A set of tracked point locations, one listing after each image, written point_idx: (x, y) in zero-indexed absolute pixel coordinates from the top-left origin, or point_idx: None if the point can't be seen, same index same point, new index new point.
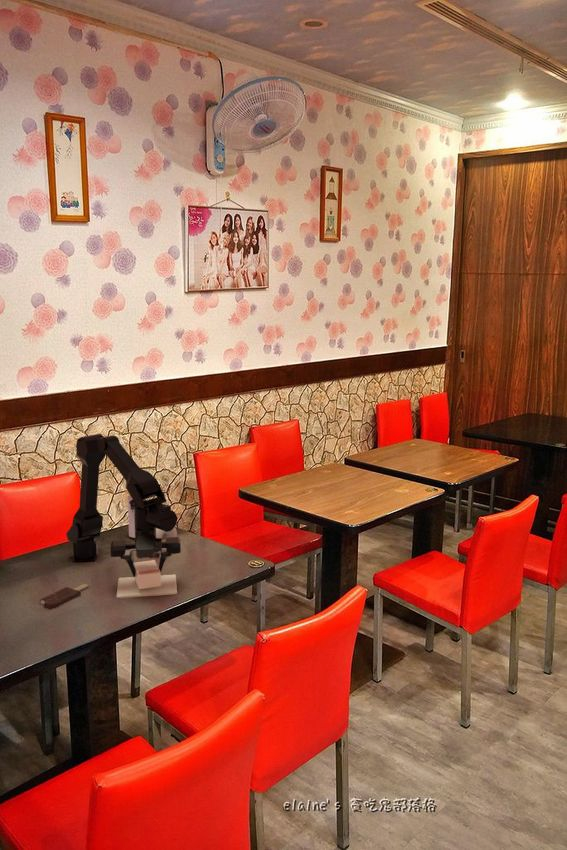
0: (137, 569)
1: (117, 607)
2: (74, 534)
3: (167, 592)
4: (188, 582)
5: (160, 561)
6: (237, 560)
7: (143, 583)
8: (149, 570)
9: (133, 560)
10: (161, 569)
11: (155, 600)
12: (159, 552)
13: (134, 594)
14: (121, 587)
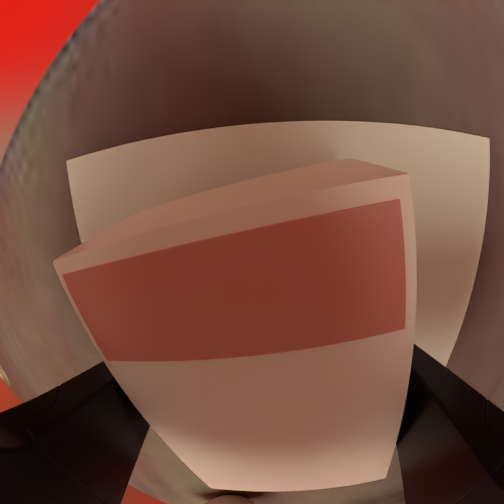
0: (389, 394)
1: (450, 9)
2: None
3: (113, 156)
4: (64, 305)
5: (43, 426)
6: (28, 397)
7: (304, 172)
8: (208, 350)
9: (412, 497)
10: (101, 363)
11: (196, 54)
12: (240, 501)
13: (378, 137)
14: (455, 281)
